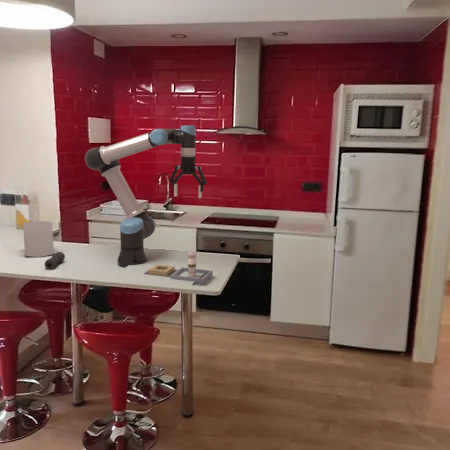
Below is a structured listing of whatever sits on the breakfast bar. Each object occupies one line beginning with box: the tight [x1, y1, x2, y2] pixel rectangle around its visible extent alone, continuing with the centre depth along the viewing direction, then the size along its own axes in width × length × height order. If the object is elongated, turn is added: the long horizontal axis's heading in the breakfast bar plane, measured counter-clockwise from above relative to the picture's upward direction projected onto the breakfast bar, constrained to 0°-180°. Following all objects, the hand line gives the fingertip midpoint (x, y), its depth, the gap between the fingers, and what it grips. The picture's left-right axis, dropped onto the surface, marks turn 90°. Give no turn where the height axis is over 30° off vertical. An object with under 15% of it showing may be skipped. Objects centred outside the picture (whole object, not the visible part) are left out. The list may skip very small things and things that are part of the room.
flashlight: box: [44, 251, 66, 270], centre depth 239 cm, size 15×5×5 cm, turn 0°
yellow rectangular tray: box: [143, 264, 178, 278], centre depth 227 cm, size 14×12×4 cm
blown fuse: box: [187, 251, 197, 278], centre depth 221 cm, size 4×4×12 cm
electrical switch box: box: [22, 220, 55, 258], centre depth 259 cm, size 14×15×20 cm
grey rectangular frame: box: [170, 267, 214, 286], centre depth 222 cm, size 16×14×3 cm
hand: (187, 197), depth 245 cm, fingers open, 13 cm apart
